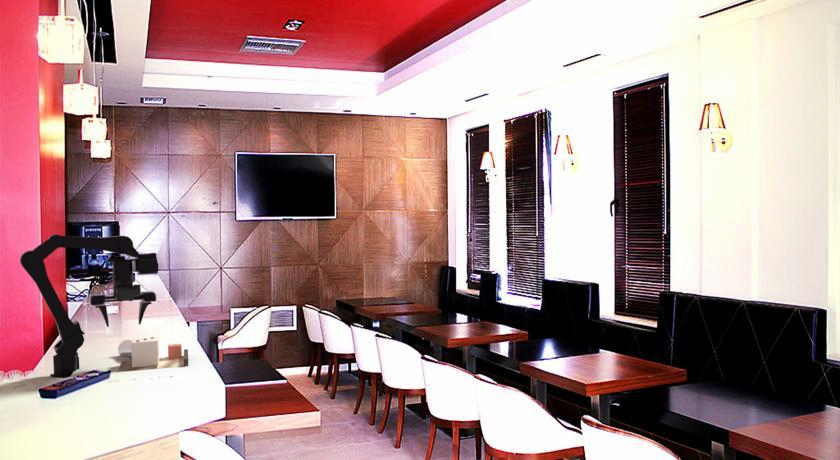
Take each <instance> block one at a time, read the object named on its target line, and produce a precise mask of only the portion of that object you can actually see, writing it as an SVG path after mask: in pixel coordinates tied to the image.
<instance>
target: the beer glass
mask: <svg viewBox="0 0 840 460" xmlns="http://www.w3.org/2000/svg"><path fill="white" fill-rule="evenodd" d="M131 342H132V340H131V339H130V340H129V339H126V340H122V341H121V342H120V344H119V345H118V347H117V353H118V355H119V356H120V357H129V358H131V359H132V349H131Z"/></svg>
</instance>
